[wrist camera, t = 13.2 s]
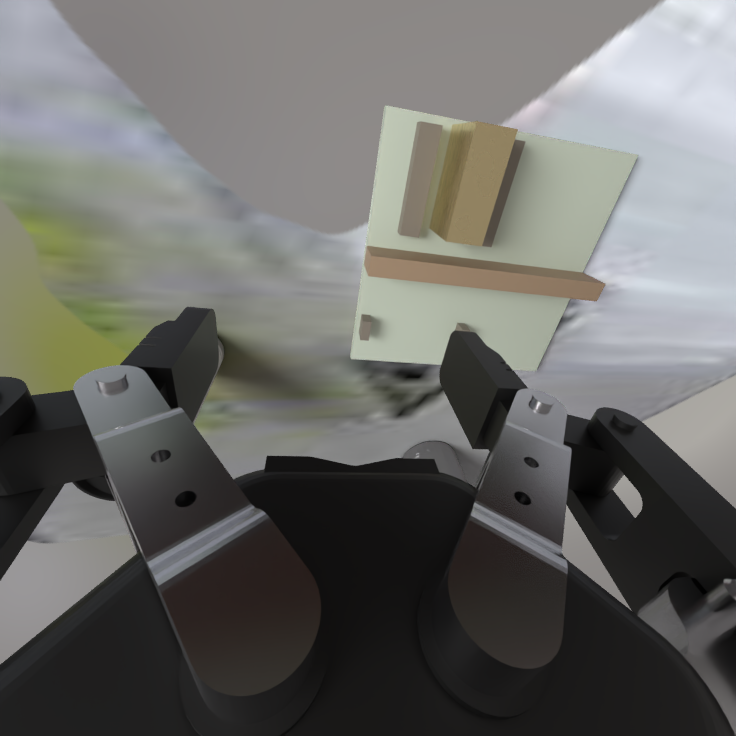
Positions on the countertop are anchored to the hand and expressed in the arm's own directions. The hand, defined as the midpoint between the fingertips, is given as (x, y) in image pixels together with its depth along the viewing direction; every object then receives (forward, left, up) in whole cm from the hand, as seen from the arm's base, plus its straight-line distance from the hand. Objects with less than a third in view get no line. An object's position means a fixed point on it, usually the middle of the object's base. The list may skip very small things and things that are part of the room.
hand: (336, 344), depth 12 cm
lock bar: (-5, -12, -27) cm, 30 cm away
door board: (-14, -11, -28) cm, 33 cm away
